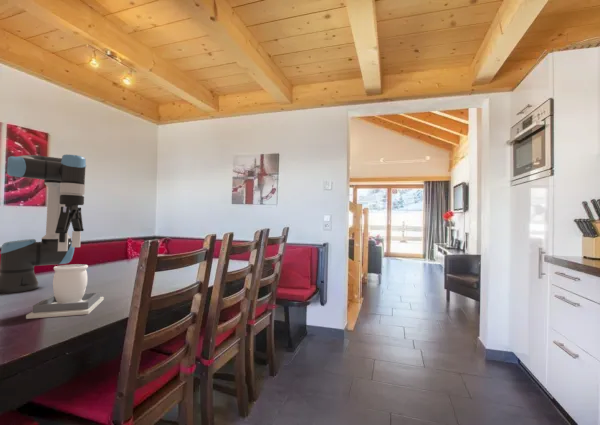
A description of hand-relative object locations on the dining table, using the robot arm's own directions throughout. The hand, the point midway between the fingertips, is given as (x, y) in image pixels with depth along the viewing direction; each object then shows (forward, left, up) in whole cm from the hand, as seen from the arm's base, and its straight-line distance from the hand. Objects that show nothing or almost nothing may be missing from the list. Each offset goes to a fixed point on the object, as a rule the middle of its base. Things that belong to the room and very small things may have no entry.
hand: (69, 249), depth 113 cm
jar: (0, +1, -22) cm, 22 cm away
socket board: (+1, +1, -23) cm, 23 cm away
